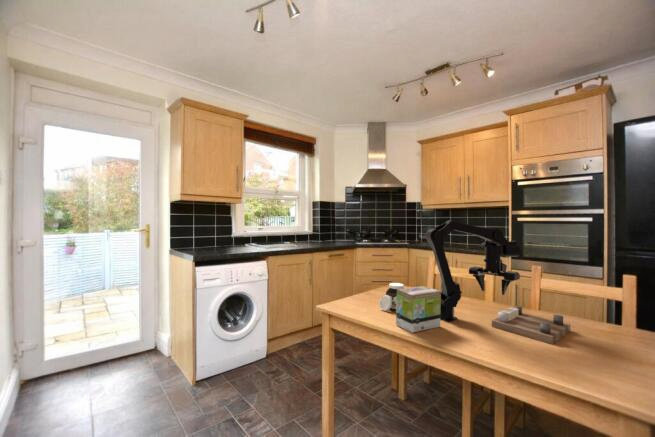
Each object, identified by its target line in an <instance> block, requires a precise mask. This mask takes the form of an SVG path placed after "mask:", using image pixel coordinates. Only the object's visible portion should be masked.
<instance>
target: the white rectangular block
mask: <svg viewBox="0 0 655 437" xmlns="http://www.w3.org/2000/svg"><path fill="white" fill-rule="evenodd" d="M516 317H518V309H516V308H514V307H508V308H505V309H503V310H501V311H498V312H497V318H498V321H500V322H509V321H510V320H512V319H514V318H516Z"/></svg>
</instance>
